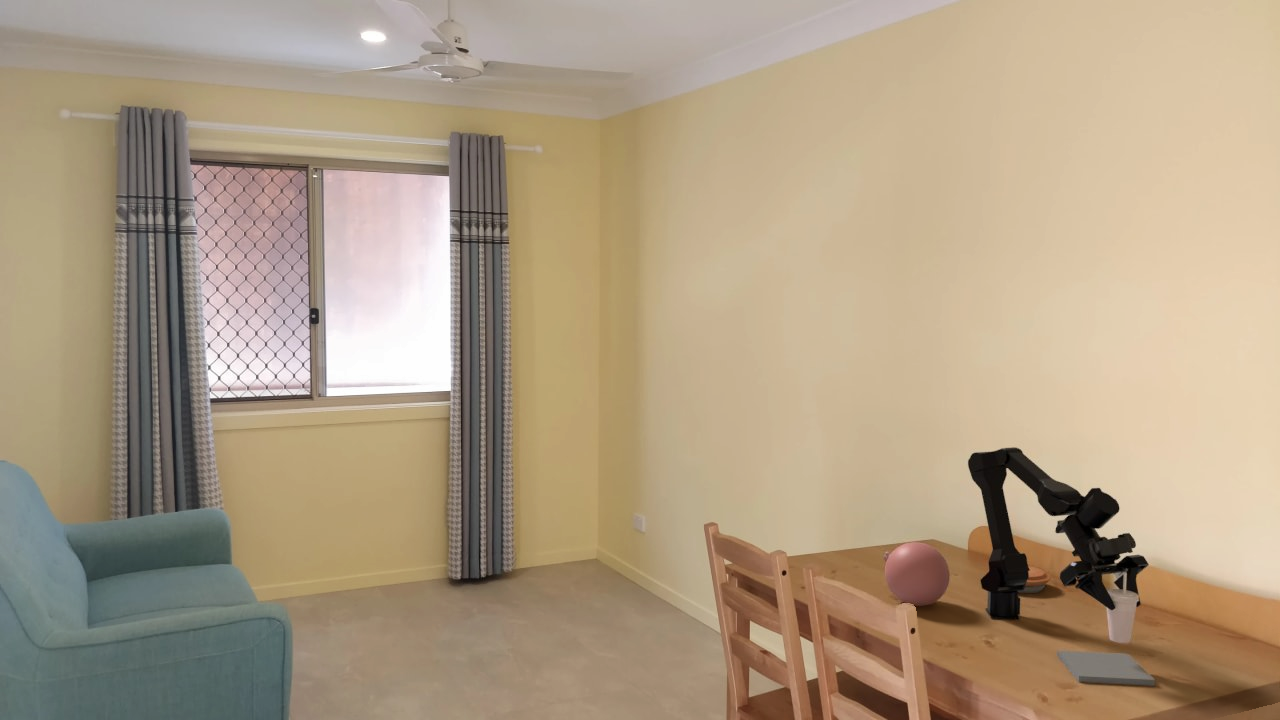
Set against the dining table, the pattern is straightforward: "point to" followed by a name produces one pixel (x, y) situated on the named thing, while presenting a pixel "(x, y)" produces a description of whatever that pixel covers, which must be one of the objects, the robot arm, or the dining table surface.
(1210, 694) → the dining table surface
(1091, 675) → the slate trivet
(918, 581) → the balloon
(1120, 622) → the smoothie
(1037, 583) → the pie
